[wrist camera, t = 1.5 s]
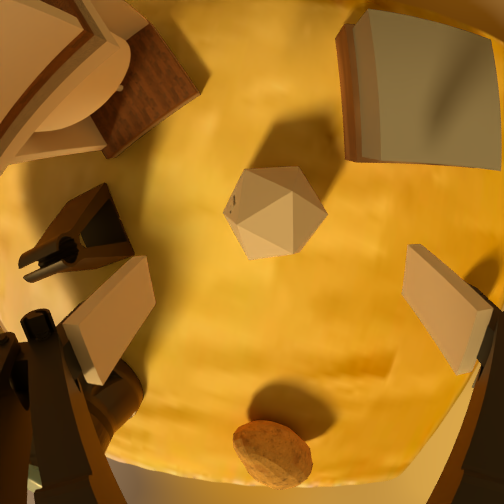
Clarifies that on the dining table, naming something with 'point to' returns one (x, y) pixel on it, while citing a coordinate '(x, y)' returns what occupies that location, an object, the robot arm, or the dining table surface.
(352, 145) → the block
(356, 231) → the dining table surface
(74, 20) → the display case
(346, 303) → the dining table surface
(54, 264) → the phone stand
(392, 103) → the block
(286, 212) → the die
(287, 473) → the potato
